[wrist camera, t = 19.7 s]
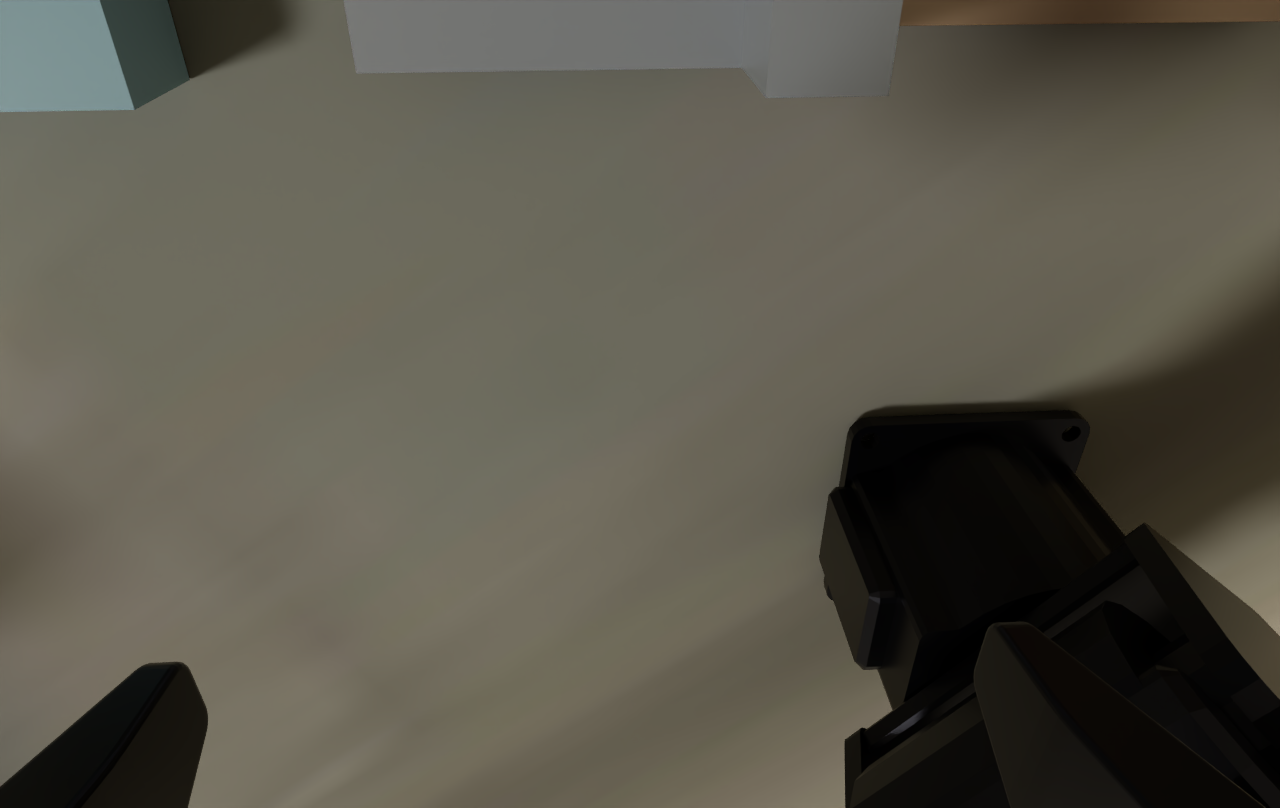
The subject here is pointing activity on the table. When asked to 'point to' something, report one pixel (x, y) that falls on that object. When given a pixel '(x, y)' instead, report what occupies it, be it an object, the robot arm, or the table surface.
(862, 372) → the table surface
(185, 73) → the socket board
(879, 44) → the sliding cover
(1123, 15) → the plate
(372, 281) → the table surface
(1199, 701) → the robot arm
